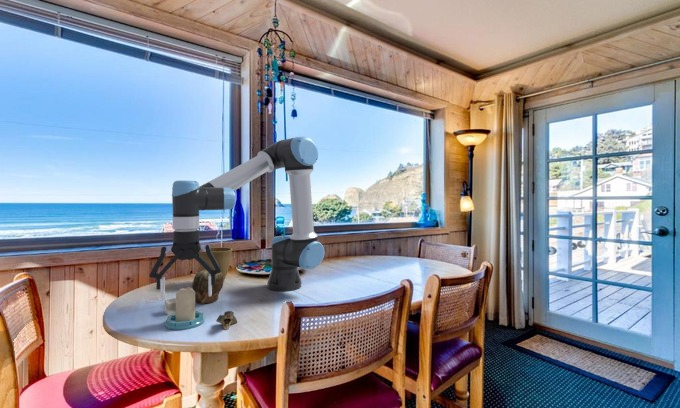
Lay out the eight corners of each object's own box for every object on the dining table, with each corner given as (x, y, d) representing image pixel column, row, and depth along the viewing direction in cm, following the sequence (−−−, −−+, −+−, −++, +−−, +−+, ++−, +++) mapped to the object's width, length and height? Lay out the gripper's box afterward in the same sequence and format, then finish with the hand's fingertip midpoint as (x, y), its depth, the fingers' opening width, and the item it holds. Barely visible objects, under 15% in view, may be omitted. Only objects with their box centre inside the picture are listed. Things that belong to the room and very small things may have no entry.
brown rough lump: (212, 306, 119) (213, 273, 119) (185, 304, 121) (186, 271, 121) (228, 297, 130) (229, 267, 129) (203, 295, 132) (204, 265, 132)
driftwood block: (180, 308, 116) (180, 297, 116) (184, 312, 113) (184, 301, 112) (164, 311, 113) (164, 300, 113) (168, 315, 109) (168, 303, 109)
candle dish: (205, 315, 110) (205, 309, 110) (202, 327, 99) (202, 321, 99) (169, 318, 106) (169, 312, 106) (161, 331, 96) (161, 324, 96)
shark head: (237, 334, 98) (241, 312, 98) (215, 333, 96) (219, 310, 96) (236, 321, 106) (240, 301, 105) (215, 320, 103) (220, 300, 103)
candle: (189, 315, 107) (190, 284, 107) (198, 319, 103) (198, 287, 103) (172, 320, 103) (172, 288, 102) (180, 324, 99) (181, 291, 99)
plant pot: (231, 287, 144) (231, 251, 144) (194, 289, 140) (194, 252, 140) (232, 279, 159) (233, 246, 158) (199, 280, 155) (200, 247, 154)
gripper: (228, 227, 110) (229, 290, 110) (144, 229, 102) (145, 297, 103) (228, 230, 103) (228, 297, 103) (137, 232, 95) (138, 304, 96)
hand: (186, 297), depth 103 cm, fingers open, 13 cm apart
